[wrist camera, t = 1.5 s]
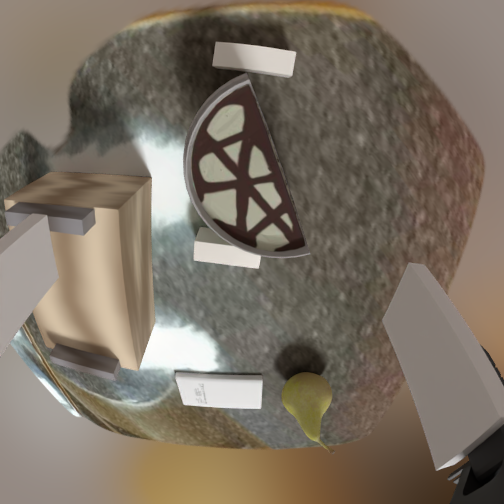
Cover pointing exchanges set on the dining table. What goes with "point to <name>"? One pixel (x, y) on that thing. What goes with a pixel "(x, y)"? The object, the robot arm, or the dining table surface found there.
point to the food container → (241, 175)
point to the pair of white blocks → (247, 60)
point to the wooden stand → (94, 268)
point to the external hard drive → (220, 390)
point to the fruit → (308, 402)
